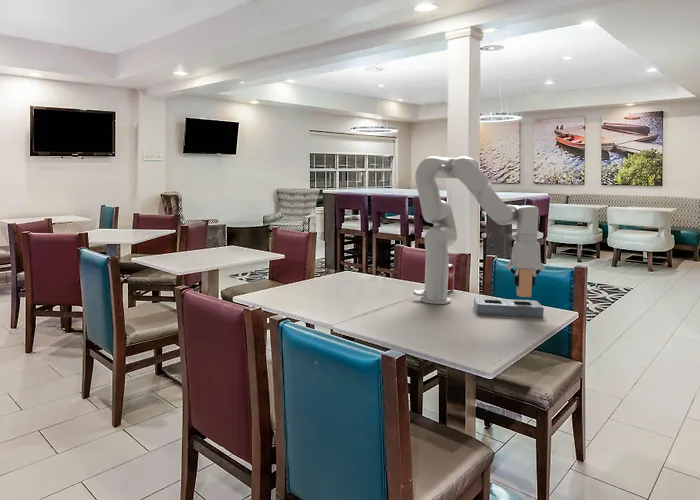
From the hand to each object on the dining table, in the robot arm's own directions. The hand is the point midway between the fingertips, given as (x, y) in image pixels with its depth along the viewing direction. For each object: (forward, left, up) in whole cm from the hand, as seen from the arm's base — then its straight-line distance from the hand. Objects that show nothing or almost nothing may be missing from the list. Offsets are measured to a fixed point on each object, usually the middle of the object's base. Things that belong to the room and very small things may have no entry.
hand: (524, 285), depth 193 cm
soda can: (-28, +39, -11) cm, 49 cm away
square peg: (0, 0, -4) cm, 4 cm away
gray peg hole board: (-6, 0, -11) cm, 12 cm away
